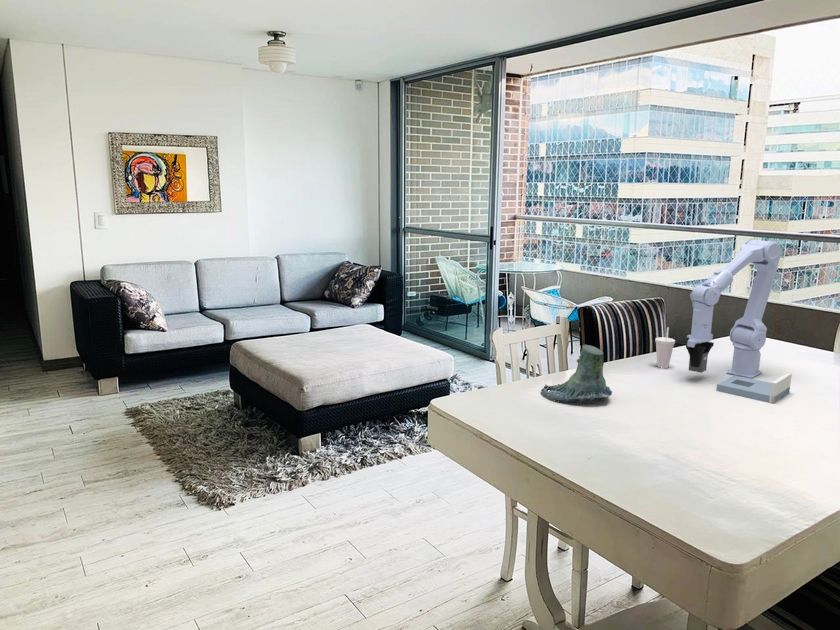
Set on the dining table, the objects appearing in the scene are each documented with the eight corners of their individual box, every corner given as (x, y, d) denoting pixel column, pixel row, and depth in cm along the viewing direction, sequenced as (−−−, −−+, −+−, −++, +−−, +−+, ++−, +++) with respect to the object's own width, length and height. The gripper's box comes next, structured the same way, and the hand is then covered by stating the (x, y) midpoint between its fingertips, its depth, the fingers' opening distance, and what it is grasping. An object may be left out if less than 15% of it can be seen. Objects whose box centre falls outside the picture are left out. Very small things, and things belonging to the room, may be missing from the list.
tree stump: (559, 383, 201) (576, 330, 196) (616, 412, 190) (636, 357, 184) (528, 393, 188) (546, 338, 182) (587, 426, 176) (608, 367, 170)
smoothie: (669, 370, 214) (673, 329, 212) (650, 367, 218) (653, 327, 215) (675, 366, 219) (678, 326, 217) (656, 363, 223) (659, 324, 220)
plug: (693, 367, 207) (695, 349, 206) (707, 370, 204) (708, 352, 203) (688, 370, 204) (690, 352, 203) (701, 372, 201) (703, 354, 200)
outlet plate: (733, 381, 203) (735, 362, 202) (789, 393, 192) (791, 373, 191) (716, 390, 194) (718, 371, 193) (773, 403, 183) (776, 383, 181)
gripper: (698, 318, 209) (694, 358, 212) (679, 325, 199) (675, 367, 202) (720, 321, 204) (716, 362, 207) (702, 328, 194) (697, 371, 197)
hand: (697, 365), depth 204 cm, fingers closed on plug, 4 cm apart
